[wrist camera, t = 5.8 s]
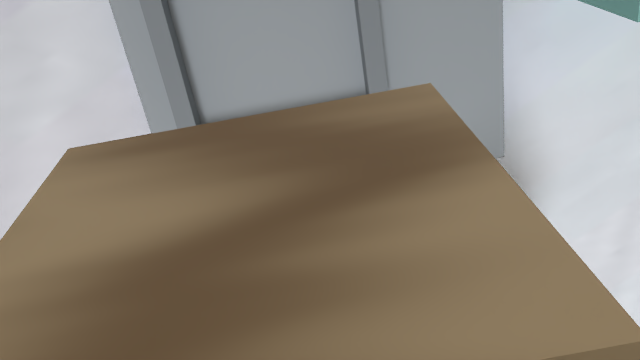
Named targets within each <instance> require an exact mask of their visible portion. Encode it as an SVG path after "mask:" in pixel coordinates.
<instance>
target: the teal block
mask: <svg viewBox="0 0 640 360" xmlns="http://www.w3.org/2000/svg"><path fill="white" fill-rule="evenodd" d="M578 1H581V2H584V3H587V4H589V5H592V6H595V7H598V8H600V9H603V10H606V11H608V12H611V13H614V14H617V15H619V16H622V17H625V18H628V19H630V20H633V21H636V22H640V0H578Z"/></svg>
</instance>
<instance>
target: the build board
mask: <svg viewBox="0 0 640 360" xmlns="http://www.w3.org/2000/svg"><path fill="white" fill-rule="evenodd" d="M109 3H110V6H111V9H112V12H113V15H114V18H115V21H116V25H117V28H118V31H119V34H120V37H121V40H122V43H123V46H124V49H125V53H126V56H127V59H128V62H129V65H130V68H131V71H132V74H133V78H134V81H135V84H136V87H137V90H138V93H139V96H140V99H141V102H142V106H143V109H144V112H145V115H146V118H147V121H148V124H149V127H150V131H151V134H152V133H158V132H163V131H169V130H174V129H180V128H185V127H191V126H196V125H202V124H207V123H213V122H218V121H224V120H229V119H235V118H240V117H246V116H251V115H257V114H262V113H268V112H273V111H279V110H284V109H290V108H295V107H301V106H306V105H312V104H317V103H323V102H328V101H334V100H339V99H345V98H350V97H356V96H361V95H367V94H372V93H378V92H383V91H389V90H394V89H400V88H405V87H411V86H416V85H422V84H427V83H431V84H432V85H433V86H434V88H435V89H436V90H437V91H438V92H439V93H440V95H441V96H442V97H443V98H444V99H445V100H446V102H447V103H448V104H449V105H450V106H451V107H452V109H453V110H454V111H455V112H456V113H457V114H458V116H459V117H460V118H461V119H462V120H463V121H464V123H465V124H466V125H467V126H468V127H469V128H470V130H471V131H472V132H473V133H474V134H475V135H476V137H477V138H478V139H479V140H480V141H481V143H482V144H483V145H484V146H485V147H486V148H487V150H488V151H489V152H490V153H491V154H492V155H493V157H494V158H500V157H504V87H503V0H109Z"/></svg>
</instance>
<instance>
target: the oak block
mask: <svg viewBox="0 0 640 360" xmlns="http://www.w3.org/2000/svg"><path fill="white" fill-rule="evenodd" d="M0 360H640V327H639V326H638V325H637V324H636V323H635V322H634V320H633V319H632V318H631V317H630V316H629V315H628V313H627V312H626V311H625V310H624V309H623V307H622V306H621V305H620V304H619V303H618V302H617V300H616V299H615V298H614V297H613V296H612V295H611V293H610V292H609V291H608V290H607V289H606V288H605V286H604V285H603V284H602V283H601V282H600V281H599V279H598V278H597V277H596V276H595V275H594V274H593V272H592V271H591V270H590V269H589V268H588V267H587V265H586V264H585V263H584V262H583V261H582V260H581V258H580V257H579V256H578V255H577V254H576V252H575V251H574V250H573V249H572V248H571V247H570V245H569V244H568V243H567V242H566V241H565V240H564V238H563V237H562V236H561V235H560V234H559V233H558V231H557V230H556V229H555V228H554V227H553V226H552V224H551V223H550V222H549V221H548V220H547V219H546V217H545V216H544V215H543V214H542V213H541V212H540V210H539V209H538V208H537V207H536V206H535V205H534V203H533V202H532V201H531V200H530V199H529V197H528V196H527V195H526V194H525V193H524V192H523V190H522V189H521V188H520V187H519V186H518V185H517V183H516V182H515V181H514V180H513V179H512V178H511V176H510V175H509V174H508V173H507V172H506V171H505V169H504V168H503V167H502V166H501V165H500V164H499V162H498V161H497V160H496V159H495V158H494V157H493V155H492V154H491V153H490V152H489V151H488V150H487V148H486V147H485V146H484V145H483V144H482V143H481V141H480V140H479V139H478V138H477V137H476V135H475V134H474V133H473V132H472V131H471V130H470V128H469V127H468V126H467V125H466V124H465V123H464V121H463V120H462V119H461V118H460V117H459V116H458V114H457V113H456V112H455V111H454V110H453V109H452V107H451V106H450V105H449V104H448V103H447V102H446V100H445V99H444V98H443V97H442V96H441V95H440V93H439V92H438V91H437V90H436V89H435V88H434V86H433V85H432V84H431V83H427V84H422V85H416V86H411V87H405V88H400V89H394V90H389V91H383V92H378V93H372V94H367V95H361V96H356V97H350V98H345V99H339V100H334V101H328V102H323V103H317V104H312V105H306V106H301V107H295V108H290V109H284V110H279V111H273V112H268V113H262V114H257V115H251V116H246V117H240V118H235V119H229V120H224V121H218V122H213V123H207V124H202V125H196V126H191V127H185V128H180V129H174V130H169V131H163V132H158V133H152V134H147V135H141V136H136V137H130V138H125V139H119V140H114V141H108V142H103V143H97V144H92V145H86V146H81V147H75V148H70V149H68V150H67V151H66V153H65V154H64V155H63V157H62V158H61V159H60V161H59V162H58V163H57V165H56V166H55V167H54V169H53V170H52V172H51V173H50V174H49V176H48V177H47V178H46V180H45V181H44V182H43V184H42V185H41V186H40V188H39V189H38V190H37V192H36V193H35V194H34V196H33V197H32V199H31V200H30V201H29V203H28V204H27V205H26V207H25V208H24V209H23V211H22V212H21V213H20V215H19V216H18V217H17V219H16V220H15V221H14V223H13V224H12V226H11V227H10V228H9V230H8V231H7V232H6V234H5V235H4V236H3V238H2V239H1V240H0Z"/></svg>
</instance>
